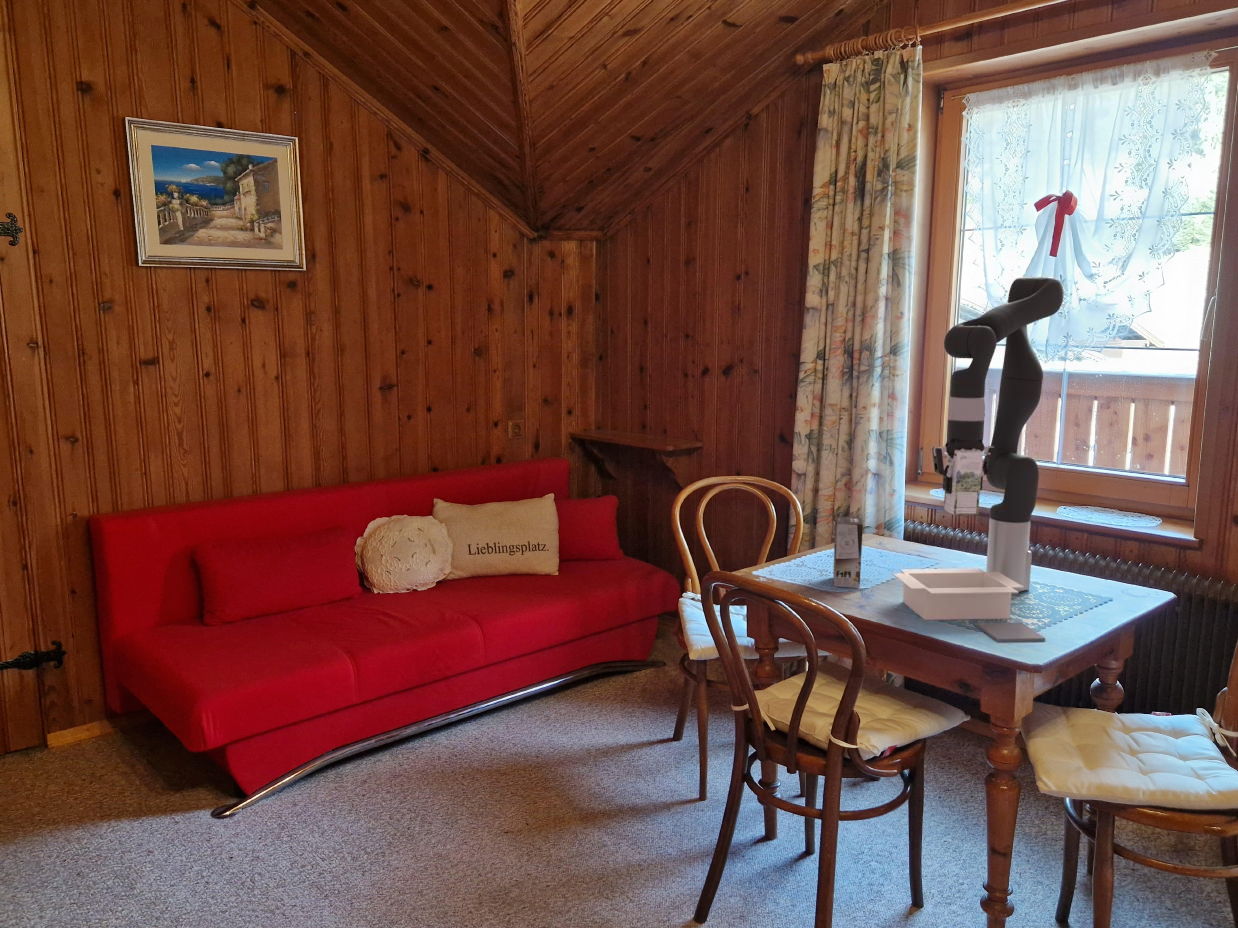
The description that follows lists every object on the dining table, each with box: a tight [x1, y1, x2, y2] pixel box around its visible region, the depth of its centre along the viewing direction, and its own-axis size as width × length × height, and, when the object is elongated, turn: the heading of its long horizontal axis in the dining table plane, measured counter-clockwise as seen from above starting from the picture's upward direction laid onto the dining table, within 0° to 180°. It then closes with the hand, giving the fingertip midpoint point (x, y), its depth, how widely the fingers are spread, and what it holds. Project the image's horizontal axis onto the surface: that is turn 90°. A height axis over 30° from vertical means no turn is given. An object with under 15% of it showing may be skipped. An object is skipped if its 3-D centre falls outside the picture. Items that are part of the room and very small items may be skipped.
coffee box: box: [833, 516, 864, 589], centre depth 228 cm, size 9×6×16 cm
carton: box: [892, 567, 1024, 621], centre depth 207 cm, size 25×19×7 cm
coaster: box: [975, 621, 1046, 643], centre depth 192 cm, size 10×10×1 cm
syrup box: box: [943, 449, 984, 516], centre depth 203 cm, size 6×6×14 cm
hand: (961, 492), depth 204 cm, fingers closed on syrup box, 5 cm apart
